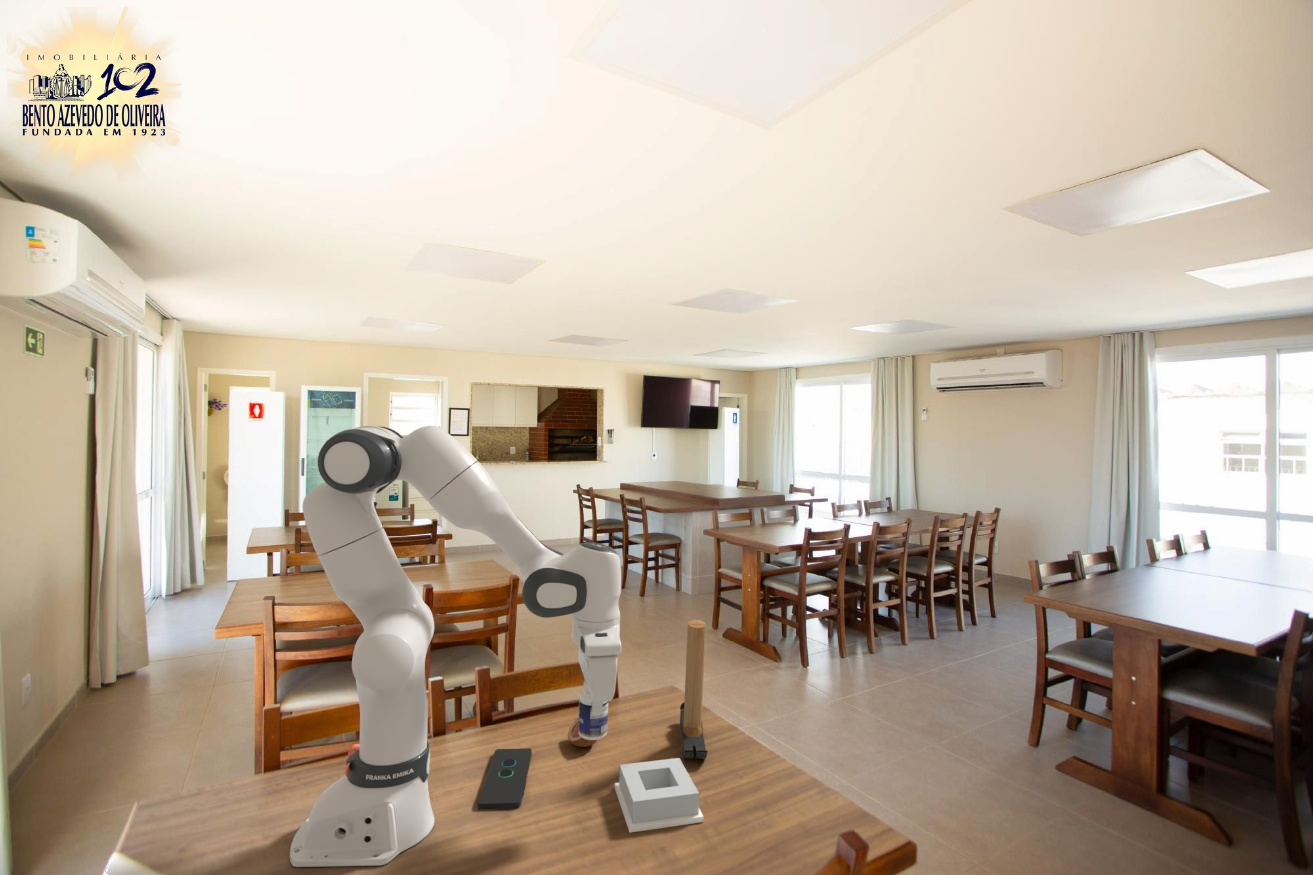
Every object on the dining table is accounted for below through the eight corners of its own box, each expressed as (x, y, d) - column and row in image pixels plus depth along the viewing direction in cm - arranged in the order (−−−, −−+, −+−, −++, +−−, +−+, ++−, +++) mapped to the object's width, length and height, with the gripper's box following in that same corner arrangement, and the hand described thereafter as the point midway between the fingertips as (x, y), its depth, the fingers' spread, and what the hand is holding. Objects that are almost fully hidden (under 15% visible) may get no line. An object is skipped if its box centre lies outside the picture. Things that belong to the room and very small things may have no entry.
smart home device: (532, 747, 133) (521, 801, 113) (532, 755, 133) (520, 810, 113) (494, 748, 132) (476, 803, 113) (494, 756, 132) (475, 812, 113)
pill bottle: (574, 729, 113) (576, 677, 113) (602, 724, 115) (603, 673, 115) (582, 743, 108) (584, 688, 108) (611, 737, 110) (612, 684, 110)
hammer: (706, 774, 130) (712, 648, 125) (683, 774, 130) (688, 647, 125) (699, 715, 150) (704, 604, 145) (679, 715, 150) (683, 603, 145)
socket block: (629, 832, 107) (630, 804, 107) (614, 787, 121) (615, 763, 121) (703, 821, 111) (704, 794, 111) (681, 779, 124) (681, 755, 124)
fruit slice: (600, 752, 134) (601, 730, 134) (570, 757, 132) (571, 734, 132) (593, 735, 142) (593, 714, 142) (565, 738, 140) (565, 717, 140)
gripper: (572, 615, 121) (569, 683, 121) (586, 650, 101) (584, 732, 101) (603, 613, 122) (600, 681, 122) (623, 648, 103) (620, 729, 103)
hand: (593, 705), depth 111 cm, fingers closed on pill bottle, 5 cm apart
